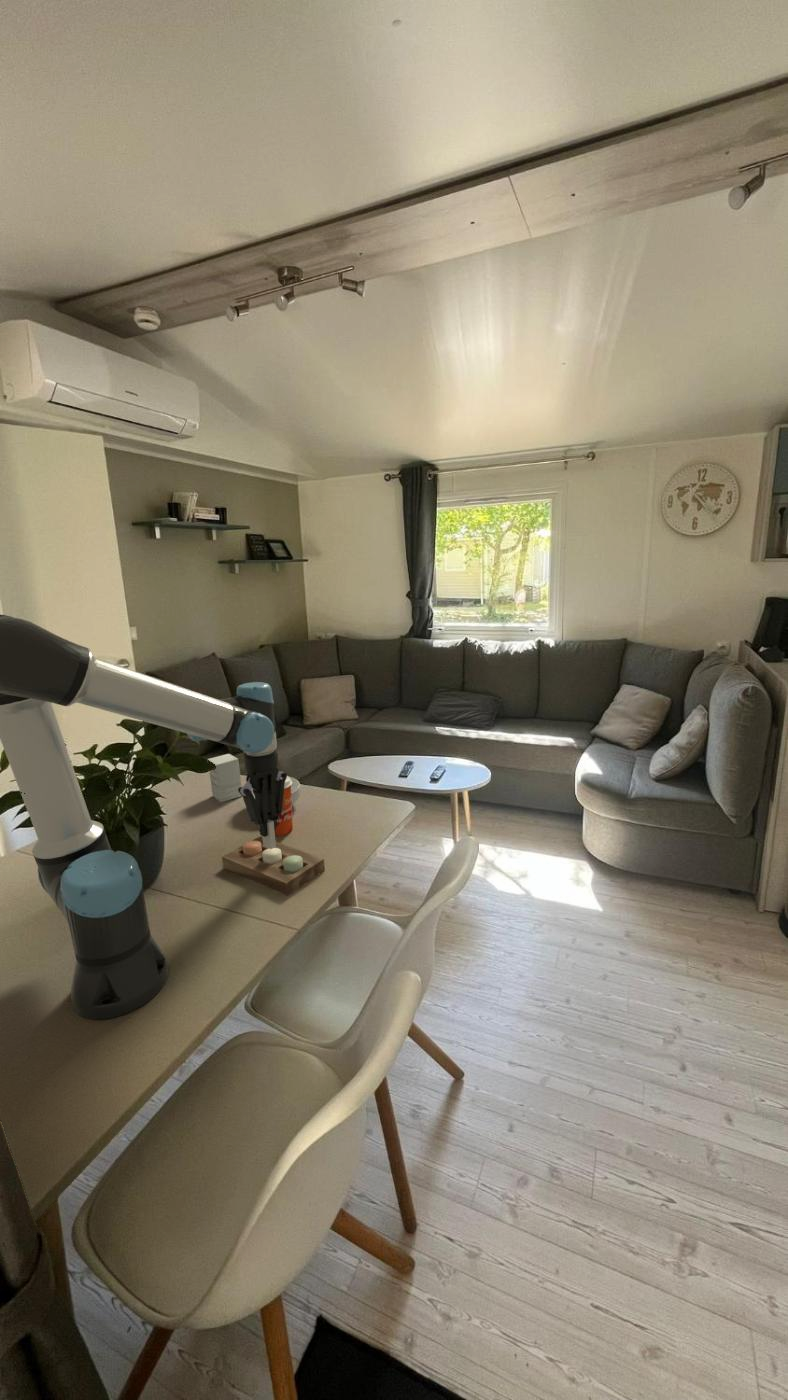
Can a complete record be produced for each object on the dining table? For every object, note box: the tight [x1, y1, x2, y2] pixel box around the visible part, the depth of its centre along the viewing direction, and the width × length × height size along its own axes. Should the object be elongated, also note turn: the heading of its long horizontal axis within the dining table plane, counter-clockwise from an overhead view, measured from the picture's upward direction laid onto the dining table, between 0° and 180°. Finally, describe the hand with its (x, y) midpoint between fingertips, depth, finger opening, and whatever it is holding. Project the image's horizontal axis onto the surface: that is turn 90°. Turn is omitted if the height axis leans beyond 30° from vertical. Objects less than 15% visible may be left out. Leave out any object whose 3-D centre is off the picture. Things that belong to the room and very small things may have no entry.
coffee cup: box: [275, 775, 293, 837], centre depth 151 cm, size 8×8×15 cm
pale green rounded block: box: [283, 855, 303, 874], centre depth 129 cm, size 4×4×4 cm
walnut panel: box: [221, 835, 326, 896], centre depth 134 cm, size 12×22×3 cm, turn 54°
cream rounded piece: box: [262, 848, 282, 865], centre depth 133 cm, size 4×4×4 cm
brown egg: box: [242, 840, 262, 857], centre depth 137 cm, size 4×4×4 cm
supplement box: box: [207, 753, 243, 803], centre depth 177 cm, size 7×7×13 cm
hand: (269, 846), depth 132 cm, fingers closed
